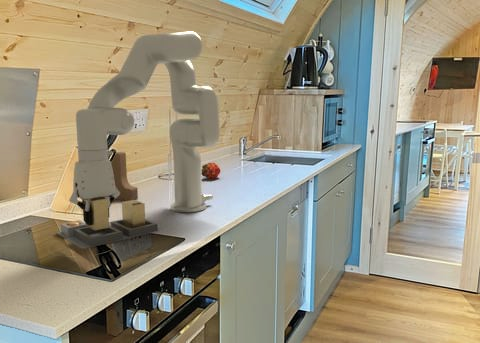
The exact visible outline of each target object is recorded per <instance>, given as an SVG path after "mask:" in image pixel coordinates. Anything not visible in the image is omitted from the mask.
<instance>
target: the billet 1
mask: <svg viewBox="0 0 480 343" xmlns="http://www.w3.org/2000/svg"><path fill="white" fill-rule="evenodd" d="M90 211H91V213H92V225H88V224H86V226H87V227H89V228H91V229H93V230H99V229H104V228H109V222H110V221H109V220H110V219H109V218H110V214H109V215H108V199H107V198H104V197H102V198H96V199H91V201H90Z"/></svg>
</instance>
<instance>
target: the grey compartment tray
mask: <svg viewBox="0 0 480 343" xmlns="http://www.w3.org/2000/svg"><path fill="white" fill-rule="evenodd" d="M71 222H79V225H75V226H69V223H71ZM161 231H163V229H162V228H159V226H158V223H156V222H154V221H152V220H149V219H146V218H145V226H140V227H136V228H132V229H130V228H128V227H126V226H124V225H123V218H122V219H117V220H112V221H109V228H104V229H99V230H93V229H91V228H89V227H87V226H86V223H85V222H84V221H82V220H81V219H80V220H79V219H77V220H73V221H68V222H63V223H60V231H59V232H56V234H57V235H58V236H60V237H61V238H63V239H66V240H67V241H68V242H70V243H71V244H73V245H75V246H76V247H78V248H79V249H82V250H85V249H90V248H93V247H97V246H98V247H99V246H101V245H106V244H110V243H115V242H118V241H123V240H127V239H130V238H136V237H139V236H144V235H148V234H152V233H156V232H161Z"/></svg>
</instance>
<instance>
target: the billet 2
mask: <svg viewBox="0 0 480 343" xmlns="http://www.w3.org/2000/svg"><path fill="white" fill-rule="evenodd" d="M121 211H122V213H121V215H122V219H123V225H124V226H126V227H128V228H130V229H132V228H136V227H140V226H145V219H146V207H145V203H144V202H142V201H139V200H137V199H135V200H130V201H125V200H123V201H121Z"/></svg>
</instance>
